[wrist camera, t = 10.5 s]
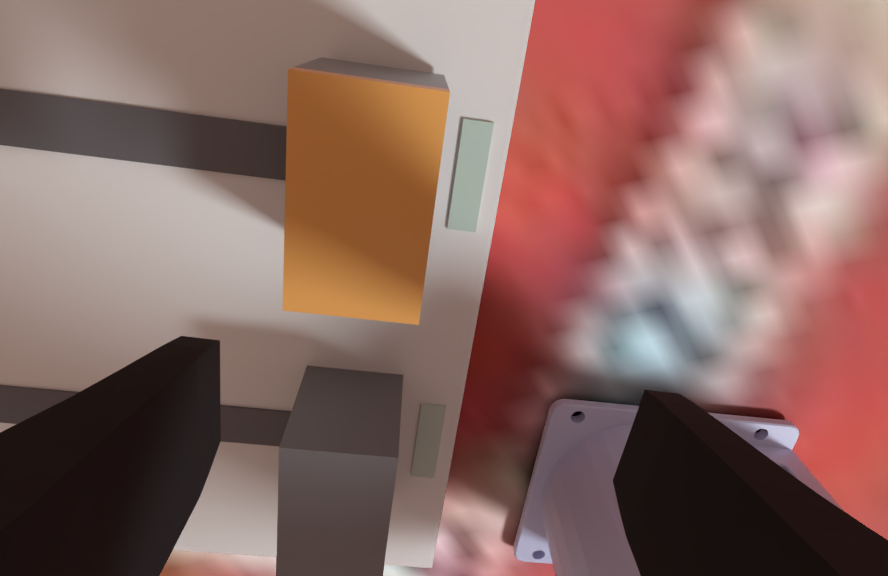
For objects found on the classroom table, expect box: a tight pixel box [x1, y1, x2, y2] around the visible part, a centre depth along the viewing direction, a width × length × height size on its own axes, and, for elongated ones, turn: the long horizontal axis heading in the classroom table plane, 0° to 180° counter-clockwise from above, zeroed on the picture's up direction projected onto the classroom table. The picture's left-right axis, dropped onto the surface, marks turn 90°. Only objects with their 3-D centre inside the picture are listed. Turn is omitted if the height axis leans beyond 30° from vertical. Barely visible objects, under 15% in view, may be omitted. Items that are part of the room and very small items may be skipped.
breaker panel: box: [0, 0, 535, 576], centre depth 16 cm, size 17×22×6 cm
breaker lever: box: [283, 57, 450, 325], centre depth 13 cm, size 3×5×4 cm, turn 172°
